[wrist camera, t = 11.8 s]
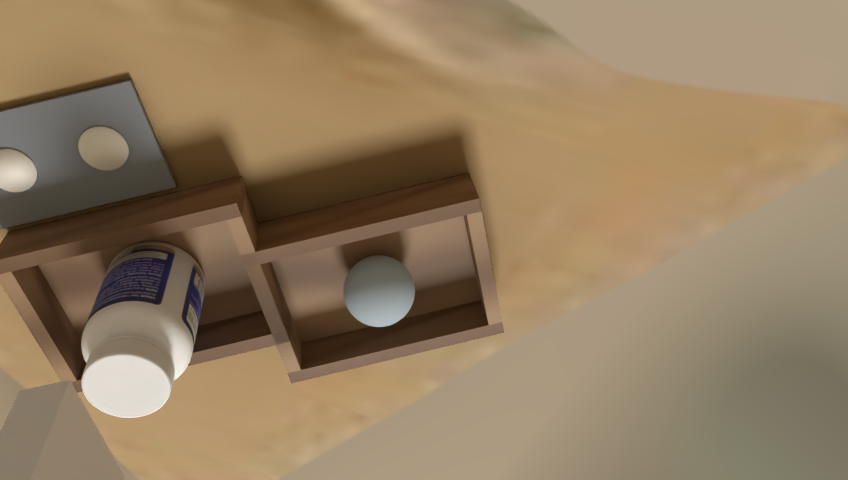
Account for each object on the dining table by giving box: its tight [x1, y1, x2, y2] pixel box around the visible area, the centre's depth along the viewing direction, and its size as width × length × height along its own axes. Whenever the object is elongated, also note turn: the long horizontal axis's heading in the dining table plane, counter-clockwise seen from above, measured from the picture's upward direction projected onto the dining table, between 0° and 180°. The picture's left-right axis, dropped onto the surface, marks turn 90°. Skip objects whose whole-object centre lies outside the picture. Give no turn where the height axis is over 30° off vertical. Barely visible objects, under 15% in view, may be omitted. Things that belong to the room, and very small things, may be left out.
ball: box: [343, 255, 415, 327], centre depth 43 cm, size 4×4×4 cm
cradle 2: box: [241, 173, 504, 383], centre depth 43 cm, size 9×13×3 cm
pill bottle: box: [81, 242, 205, 418], centre depth 39 cm, size 5×5×9 cm
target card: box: [0, 79, 176, 229], centre depth 39 cm, size 6×10×1 cm, turn 102°
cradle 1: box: [0, 177, 291, 392], centre depth 42 cm, size 9×13×3 cm
